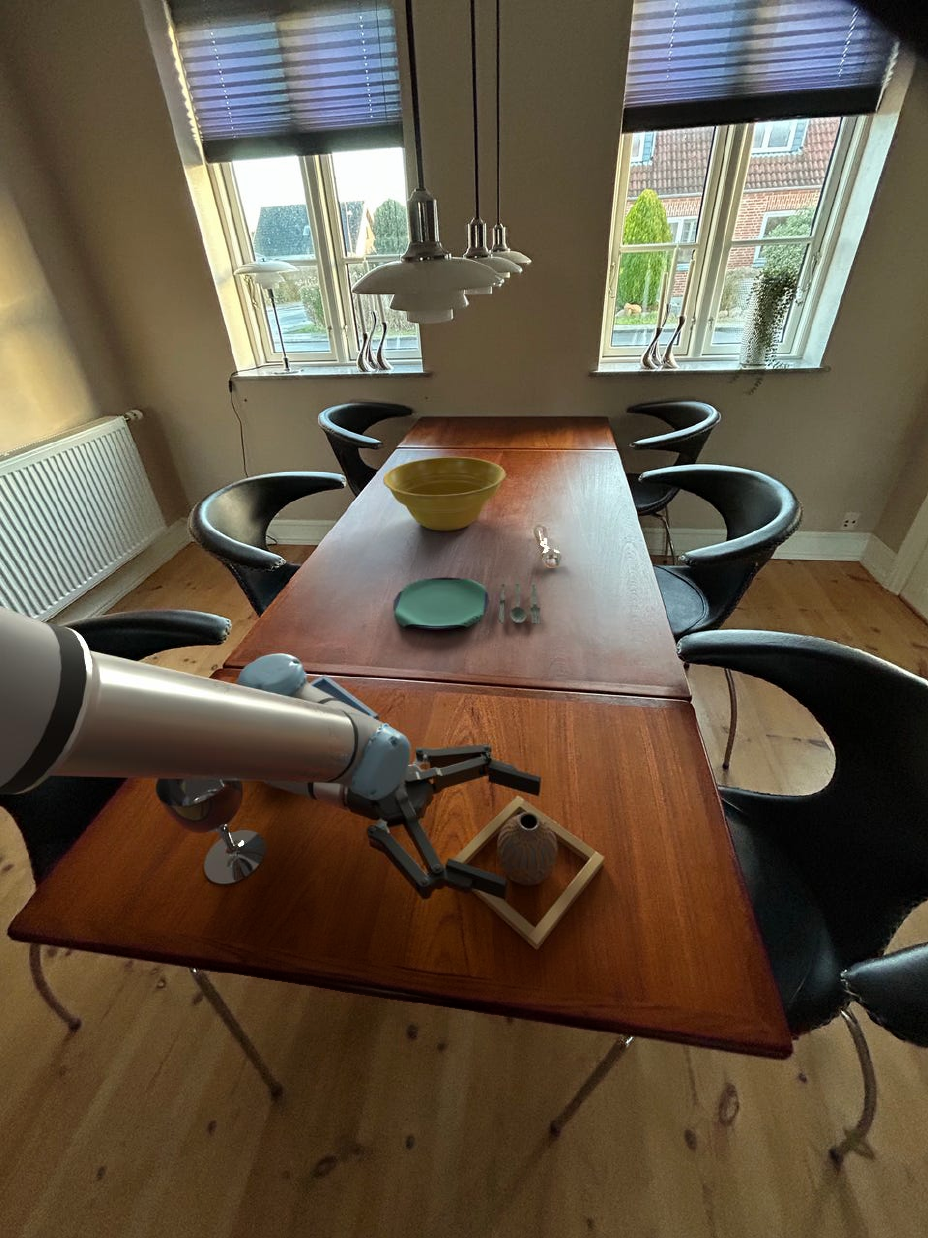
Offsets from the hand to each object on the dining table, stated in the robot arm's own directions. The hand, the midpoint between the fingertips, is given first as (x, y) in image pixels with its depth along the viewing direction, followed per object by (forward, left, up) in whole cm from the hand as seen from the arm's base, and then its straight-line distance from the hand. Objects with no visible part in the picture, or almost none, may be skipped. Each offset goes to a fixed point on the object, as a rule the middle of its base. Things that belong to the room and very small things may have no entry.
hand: (524, 833), depth 59 cm
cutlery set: (+36, +44, -6) cm, 57 cm away
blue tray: (-5, +39, -6) cm, 39 cm away
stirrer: (+69, +48, -6) cm, 84 cm away
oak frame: (0, 0, -6) cm, 6 cm away
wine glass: (-23, +27, -6) cm, 36 cm away
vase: (0, 0, -6) cm, 6 cm away
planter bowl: (+65, +79, -6) cm, 102 cm away
